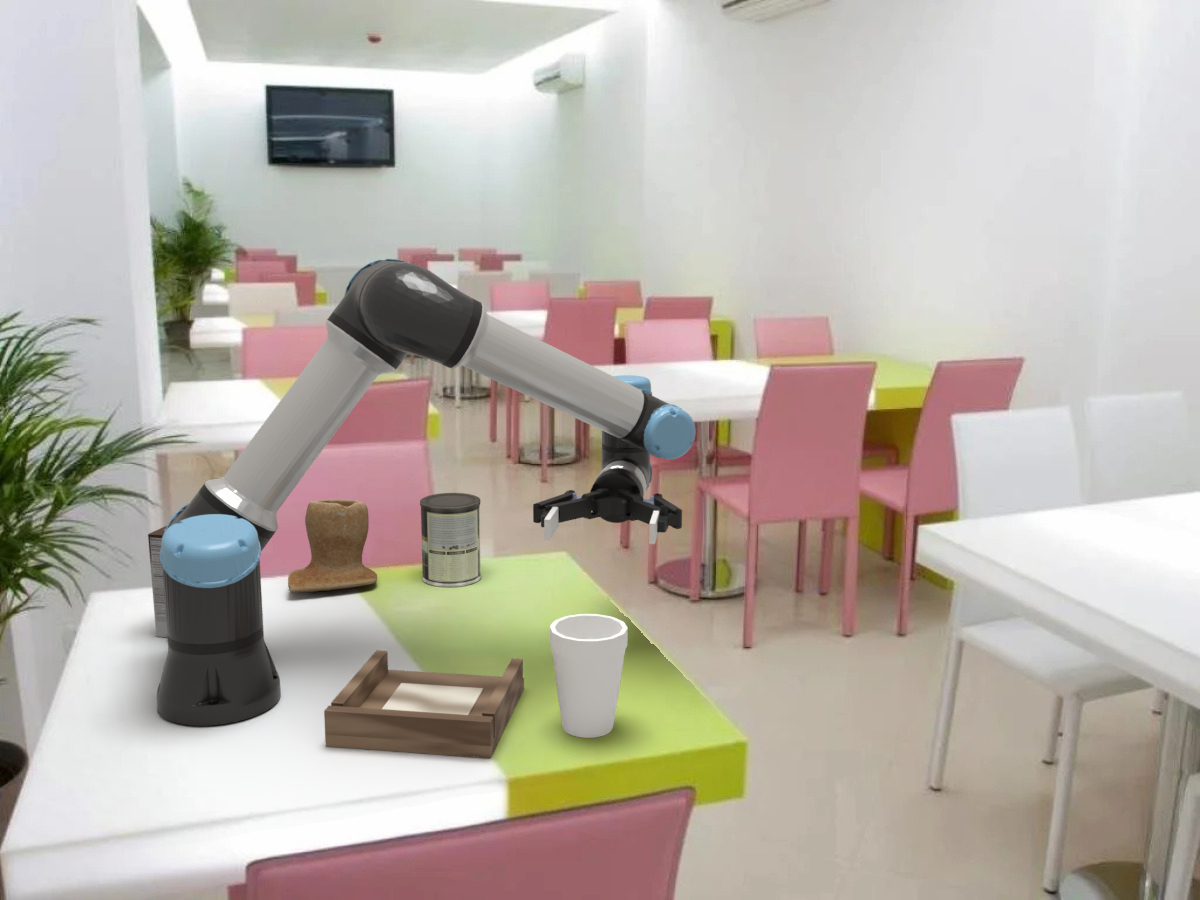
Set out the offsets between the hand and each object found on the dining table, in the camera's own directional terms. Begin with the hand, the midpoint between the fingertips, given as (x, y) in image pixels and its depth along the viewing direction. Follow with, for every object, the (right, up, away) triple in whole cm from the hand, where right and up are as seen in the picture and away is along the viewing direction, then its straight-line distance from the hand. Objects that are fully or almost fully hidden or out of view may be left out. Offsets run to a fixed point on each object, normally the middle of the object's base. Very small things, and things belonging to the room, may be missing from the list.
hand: (599, 531), depth 145 cm
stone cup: (-46, -13, +47) cm, 67 cm away
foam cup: (-1, -24, -5) cm, 25 cm away
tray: (-21, -23, -2) cm, 31 cm away
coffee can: (-26, -12, +52) cm, 59 cm away
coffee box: (-62, -17, +27) cm, 70 cm away
